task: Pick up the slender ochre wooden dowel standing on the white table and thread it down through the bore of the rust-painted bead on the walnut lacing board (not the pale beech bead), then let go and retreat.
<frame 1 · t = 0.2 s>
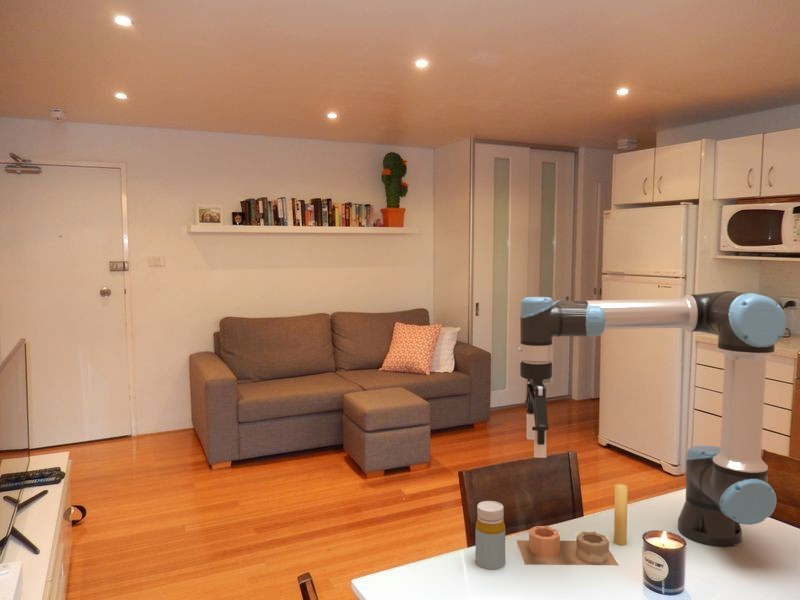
hand: (535, 447, 146), 27 cm above the table, fingers open, 13 cm apart
bead rust: (544, 550, 149), resting on lacing board
bottle: (490, 567, 143), on the table
bead beech: (592, 556, 146), resting on lacing board
dowel: (620, 547, 152), on the table
lacing board: (565, 556, 148), on the table
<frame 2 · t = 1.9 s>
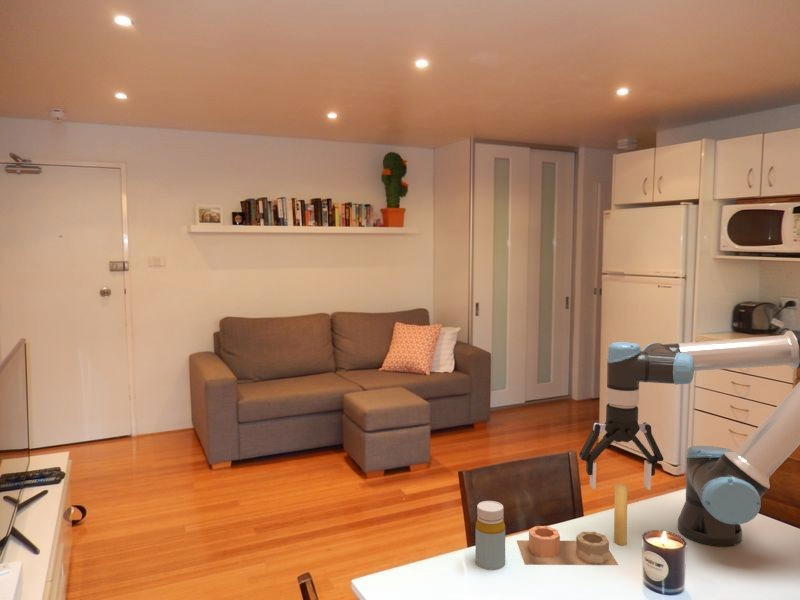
hand: (619, 487, 151), 16 cm above the table, fingers open, 13 cm apart
nothing on the table moved.
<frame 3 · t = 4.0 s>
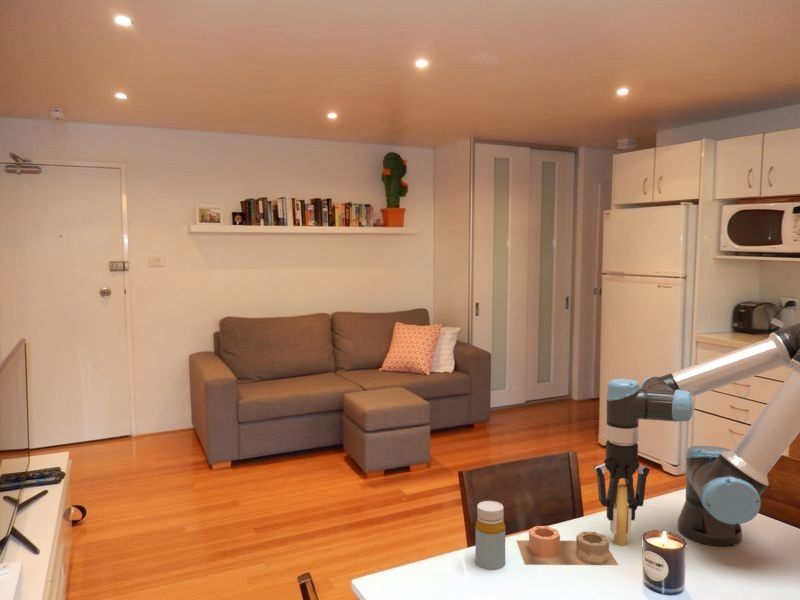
hand: (620, 531, 152), 4 cm above the table, fingers closed on dowel, 3 cm apart
dowel: (620, 547, 152), on the table, touching gripper
everything else where it was.
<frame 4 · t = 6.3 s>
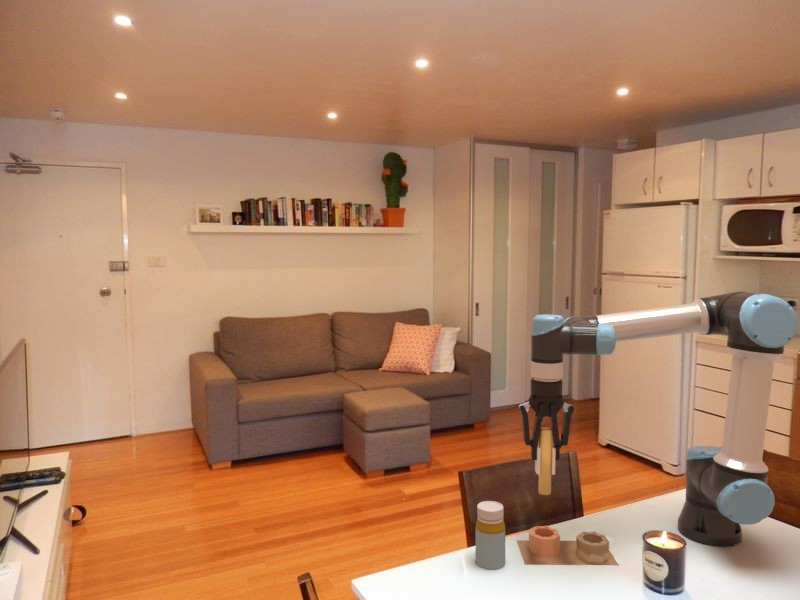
hand: (544, 472, 148), 21 cm above the table, fingers closed on dowel, 3 cm apart
dowel: (544, 492, 148), point 16 cm above the table, touching gripper
everything else where it was.
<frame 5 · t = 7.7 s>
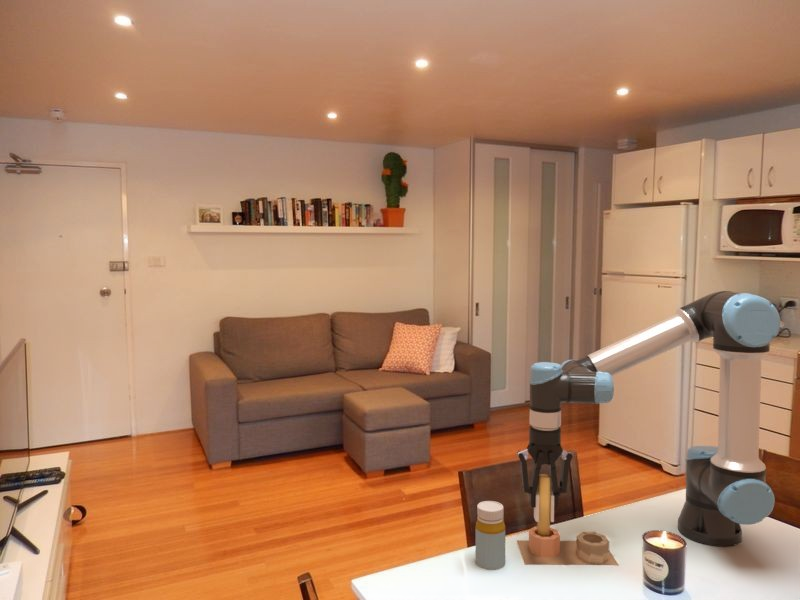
hand: (543, 519, 148), 9 cm above the table, fingers closed on dowel, 3 cm apart
dowel: (543, 539, 149), point 4 cm above the table, touching gripper
everything else where it was.
when the fingers open (7 cm above the table, at t = 8.6 s): dowel stays where it is, resting on lacing board.
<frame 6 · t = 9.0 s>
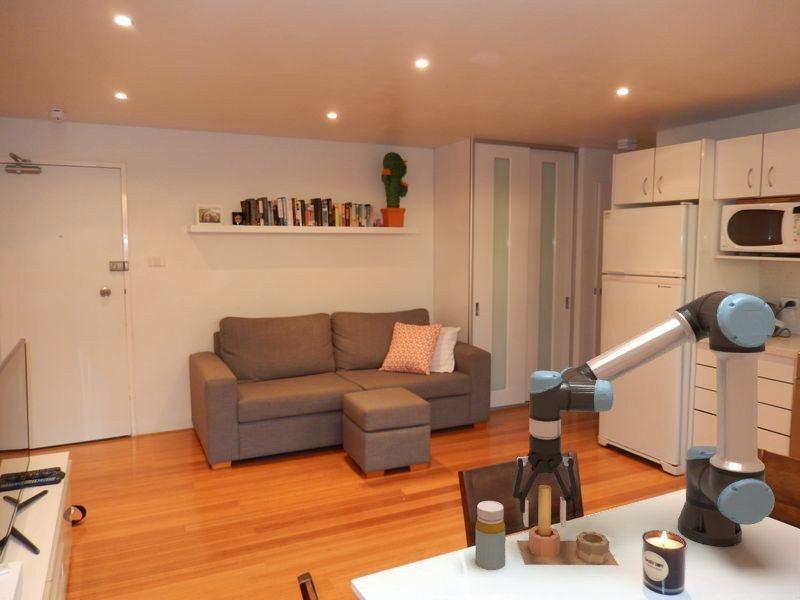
hand: (544, 524, 148), 8 cm above the table, fingers open, 8 cm apart
dowel: (544, 549, 149), point 1 cm above the table, touching lacing board
everything else where it was.
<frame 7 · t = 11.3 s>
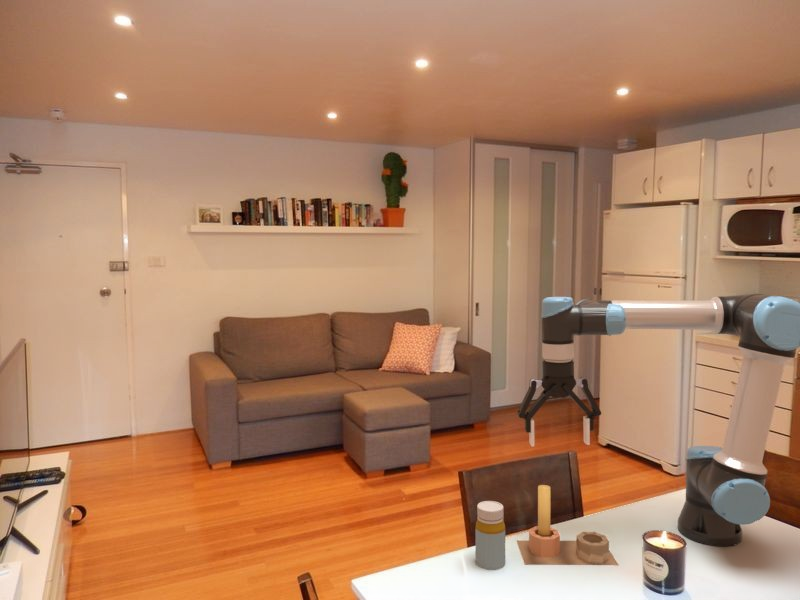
hand: (559, 444, 149), 27 cm above the table, fingers open, 13 cm apart
nothing on the table moved.
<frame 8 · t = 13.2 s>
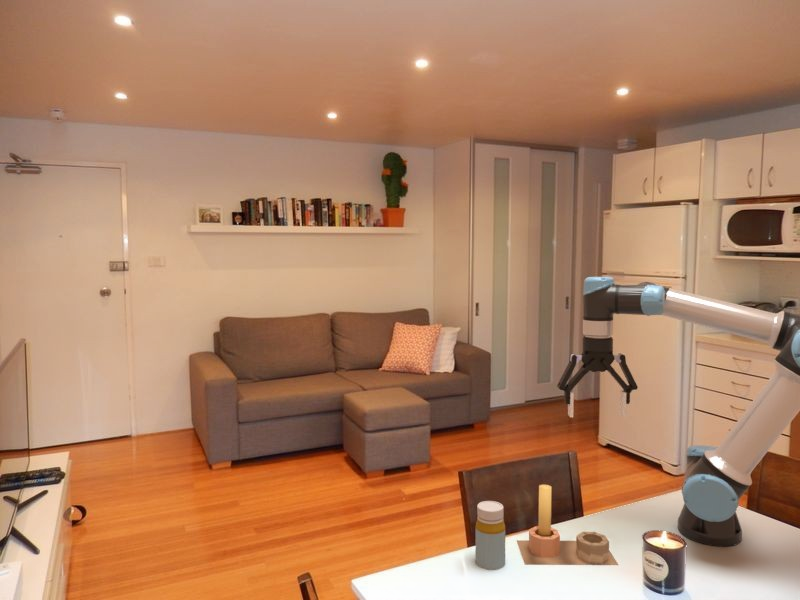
hand: (596, 416, 158), 32 cm above the table, fingers open, 13 cm apart
nothing on the table moved.
at the end: dowel 0.1 cm from the bead rust (horizontally); dowel point 1.2 cm above the table; the gripper is holding nothing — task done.
